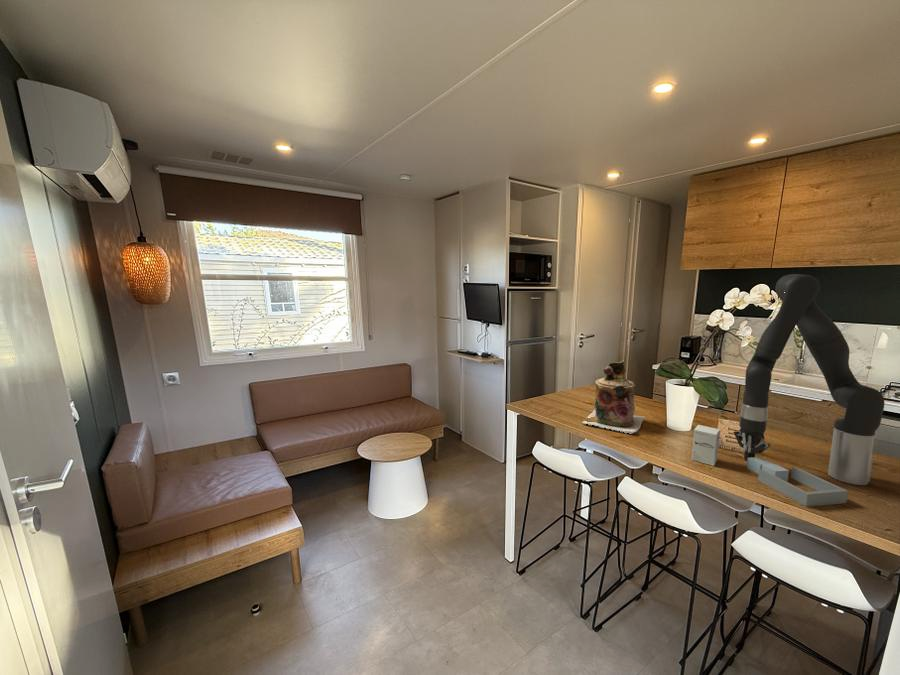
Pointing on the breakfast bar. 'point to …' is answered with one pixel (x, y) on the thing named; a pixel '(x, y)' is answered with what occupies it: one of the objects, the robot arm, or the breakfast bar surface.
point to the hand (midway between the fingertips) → (748, 461)
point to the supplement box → (705, 444)
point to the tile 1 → (756, 463)
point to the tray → (822, 496)
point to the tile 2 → (776, 471)
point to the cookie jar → (615, 401)
